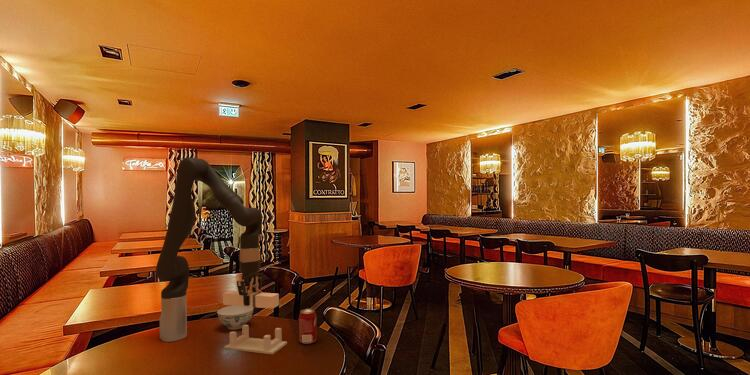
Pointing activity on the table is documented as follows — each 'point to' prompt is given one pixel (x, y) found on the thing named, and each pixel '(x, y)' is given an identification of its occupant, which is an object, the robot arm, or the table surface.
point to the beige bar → (252, 299)
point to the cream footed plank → (256, 342)
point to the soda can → (307, 326)
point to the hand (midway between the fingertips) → (250, 303)
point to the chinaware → (235, 316)
